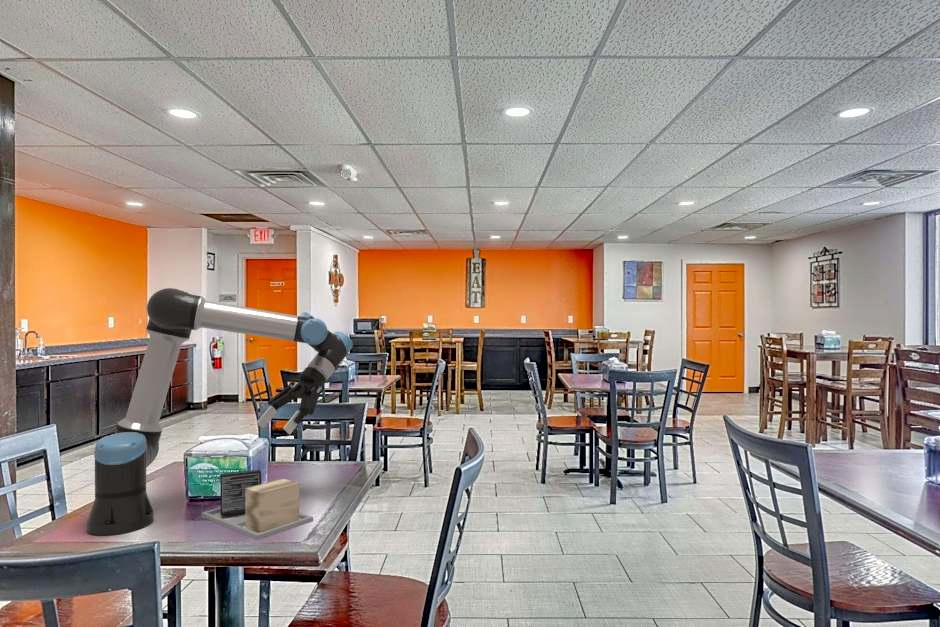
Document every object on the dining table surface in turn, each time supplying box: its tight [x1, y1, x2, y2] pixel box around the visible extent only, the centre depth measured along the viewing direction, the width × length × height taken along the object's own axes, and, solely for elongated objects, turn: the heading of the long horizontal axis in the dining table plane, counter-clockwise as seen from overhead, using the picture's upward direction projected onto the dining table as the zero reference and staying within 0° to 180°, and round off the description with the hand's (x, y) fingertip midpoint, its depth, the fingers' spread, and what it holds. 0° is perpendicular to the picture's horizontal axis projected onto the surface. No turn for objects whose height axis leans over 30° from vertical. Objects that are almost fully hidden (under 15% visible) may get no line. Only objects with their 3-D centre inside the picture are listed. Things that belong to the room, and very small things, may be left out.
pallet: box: [200, 507, 314, 541], centre depth 150 cm, size 27×16×2 cm, turn 52°
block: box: [245, 478, 300, 533], centre depth 146 cm, size 7×11×10 cm, turn 142°
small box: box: [219, 469, 263, 515], centre depth 156 cm, size 11×6×10 cm, turn 112°
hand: (272, 428), depth 165 cm, fingers open, 13 cm apart
